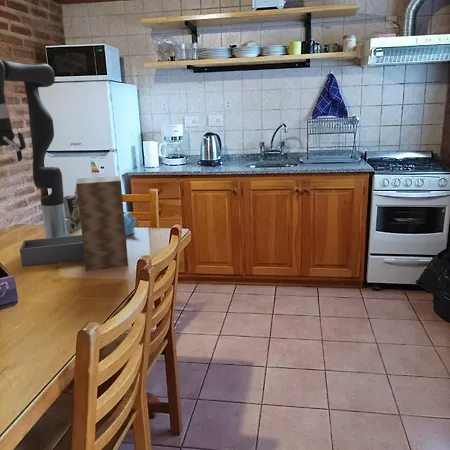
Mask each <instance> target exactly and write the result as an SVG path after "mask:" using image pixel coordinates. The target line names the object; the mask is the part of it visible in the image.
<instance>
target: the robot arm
mask: <svg viewBox="0 0 450 450" xmlns="http://www.w3.org/2000/svg"><path fill="white" fill-rule="evenodd" d="M55 80H56V77H55V71H54V69H53V68H52V66H50V65H49V64H47V63H29V64H27V63H20V62H15V61H11V60H10V61H9V60H4V59H3V60H1V59H0V147H3V146H4V147H6V146H7V147H8V146H11V147H12V148H13V149H14V150H15V152H16V158H17V161H18V162H22V160H23V152H22V150H24V149H26V148H27V145H26V142H25V138H24V134H23V132H22V131H19V132H15V133H14V131H13V128H12V123H11V122H12V121H11V117H10V112H9V109H8V108H9V107H8V105H7V100H6V97H5V82H15V83H17V82H22V83H24V89H25V93H26V100H27V109H28V118H29V119H28V120H29V130H30V140H31V150H32V179H33V183H34V186H35V187H36V188H37V189H41V190H42V189H43V190H45V189H51V192H50V194H47V195H46V196H43V197H41V198H40V205H41V212H42V213H41V214H42V220H43V227H44V234H45V235H44V236H45V238H54V237H64V236H71V234H70V232H69V226H68V219H66V217H65V209H64V201H63V197H65V196H64V185H63V175H62V174H63V173H62V171H61V169H60V168H59V167H57V166H45V158H46V154H47V151H48V150H49V148H50V146H51V144H52V142H53V140H54V137H55V130H54V129H55V128H54V120H53V118H52V115H51V114H50V112H49V111H48V109H47V108H46V106H45V105H44V104H43V102H42V99H41V97H40V92H39V91H40V89H39V88H48V87H51V86H52V85H54V83H55ZM15 138H16V139H17V140H18V141H19V143H20V144H19V145H18V144H17V142H16V141H15V140H14V139H15Z"/></svg>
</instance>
